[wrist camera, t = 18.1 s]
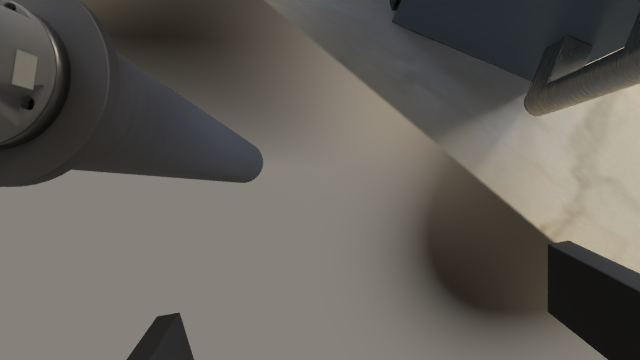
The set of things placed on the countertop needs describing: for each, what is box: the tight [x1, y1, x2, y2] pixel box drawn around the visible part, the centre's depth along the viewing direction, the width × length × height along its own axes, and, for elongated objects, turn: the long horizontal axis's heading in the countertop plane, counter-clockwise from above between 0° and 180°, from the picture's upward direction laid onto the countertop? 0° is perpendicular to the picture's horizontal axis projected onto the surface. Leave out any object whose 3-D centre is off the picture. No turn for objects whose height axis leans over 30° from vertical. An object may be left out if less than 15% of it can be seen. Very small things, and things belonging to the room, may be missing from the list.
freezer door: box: [392, 0, 640, 116], centre depth 20 cm, size 7×16×20 cm, turn 67°
